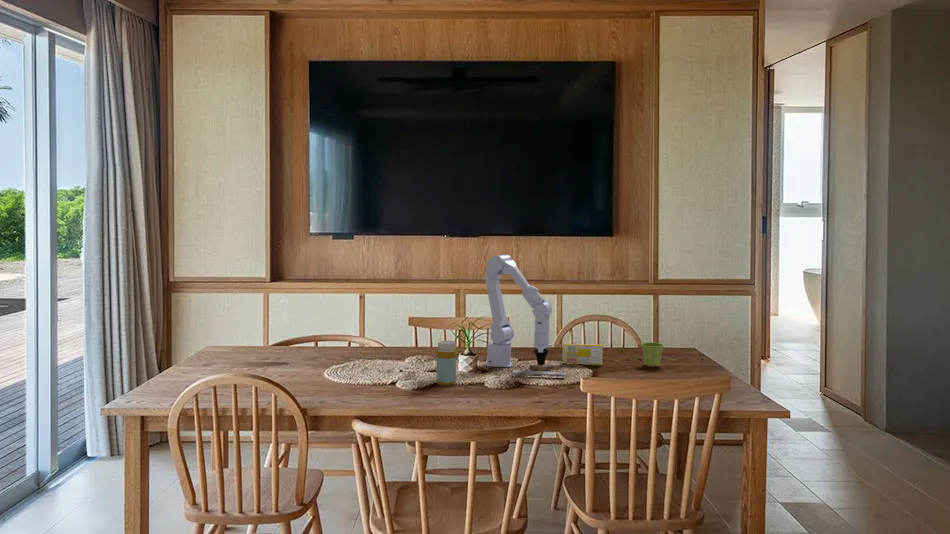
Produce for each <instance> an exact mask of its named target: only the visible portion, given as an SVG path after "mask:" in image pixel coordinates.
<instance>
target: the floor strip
mask: <svg viewBox="0 0 950 534" xmlns="http://www.w3.org/2000/svg"><path fill="white" fill-rule="evenodd" d="M512 375H515V376H542V375H544V376H545V375H547V376H566V377H567V372H565V371H561V372H548V371H530V370H527V369H524V370H523V369H512V372H511V376H512Z"/></svg>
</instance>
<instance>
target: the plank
mask: <svg viewBox="0 0 950 534" xmlns="http://www.w3.org/2000/svg"><path fill="white" fill-rule="evenodd" d="M559 369H561V370H562V364H560V363H557V362H551V363H545V364H540V365H538V364H533V365H529V371H551V370H559Z"/></svg>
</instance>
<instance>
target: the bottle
mask: <svg viewBox="0 0 950 534" xmlns="http://www.w3.org/2000/svg"><path fill="white" fill-rule="evenodd" d="M456 343H457V342H456V341H453V340H440V341H438V342H437V353H436V378H435V379H436V383H437V385H438V386H442V387H443V386H444V387H445V386H446V387H447V386H448V387H449V386H450V387H451V386H454V385H455V384H456V383H457V359H458V358H457V354H456V353H457V352H456Z"/></svg>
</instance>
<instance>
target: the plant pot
mask: <svg viewBox="0 0 950 534" xmlns="http://www.w3.org/2000/svg"><path fill="white" fill-rule="evenodd" d="M640 345H641V348H642V355H643V365H644V366H647V367H660V365H661V359H662V352H663V350H664V347H665V344H664V343H660V342H659V343H658V342H641V343H640Z"/></svg>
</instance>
